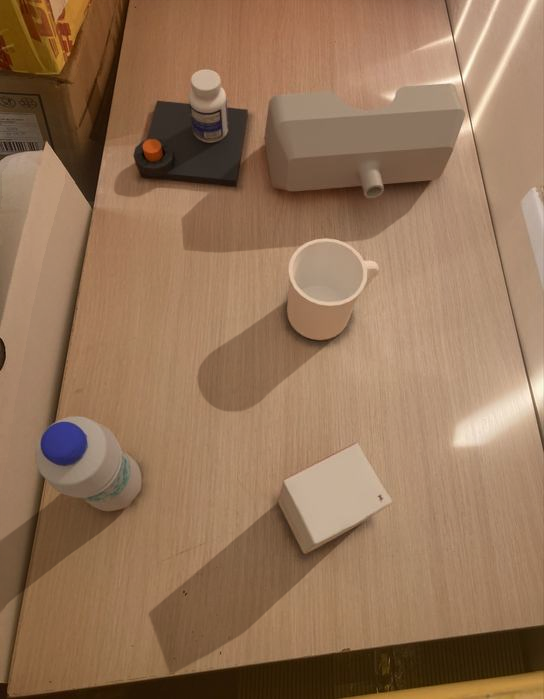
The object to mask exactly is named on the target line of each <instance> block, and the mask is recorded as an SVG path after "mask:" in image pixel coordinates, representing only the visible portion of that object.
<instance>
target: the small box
mask: <svg viewBox="0 0 544 699" xmlns="http://www.w3.org/2000/svg"><path fill="white" fill-rule="evenodd" d="M277 503H278V505H279V507H280V509H281V511H282V513H283V516H284V518H285V519H286V521H287V523H288V525H289V527H290V529H291V532H292V533H293V536H294V537H295V540H296V541H297V543H298V546H299V548H300V549H301V552H302V553H303V554H304V555H306V554H308V553H310V552H313V551H314V550H316V549H318V548H320V547H321V546H323V545H325V544H326V543H327V544H328V542H331V541H332V540H334V539H336V538H337V537H340V536H341V535H344V534H345V533H347V532H348V531H350V530H352V529H354V528H355V527H357V526H359V525H360V524H363V523H364V522H365V521H367V520H368V519H370V518H371V517H372V516H374V515H376V514H377V513H379V512H380V511H382V510H383V509H385V508H388V506H390V505H392V504H393V500H392V498H391V496H390V495H389V494H388V492H387V490H386V488H385V487H384V485H383V483H382V482H381V480H380V479H379V477H378V476H377V474H376V472H375V470H374V468H373V467H372V465H371V464H370V462H369V460H368V458H367V456H366V454H365V453H364V451H363V450H362V448H361V445H360V444H359V443H358V442H354V443H352V444H350V445H348V446H346V447H344V448H343V449H340V450H338V451H336V452H334V453H332V454H331V455H328V456H327V457H324V458H323V459H321V460H319V461H316V462H315V463H313V464H311V465H309V466H307V467H305V468H303V469H302V470H299V471H298V472H296V473H293V474H292V475H290V476H287V477H286V478H284V479H283V481H282V484H281V488H280V492H279V497H278V501H277Z"/></svg>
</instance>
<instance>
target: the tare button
mask: <svg viewBox="0 0 544 699" xmlns="http://www.w3.org/2000/svg"><path fill="white" fill-rule="evenodd" d="M146 140H147V139H146ZM144 141H145V140H144ZM142 147H143V151H144V155H145V158H146V159H147V160H148V161H150V162H157V161H159V160H161V159H162V157H163V151H162V146H161V143H160V142H159V141H158V140H156V139H149V140H147V141H145V142H144V143H143V146H142Z"/></svg>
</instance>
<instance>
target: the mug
mask: <svg viewBox="0 0 544 699" xmlns="http://www.w3.org/2000/svg"><path fill="white" fill-rule="evenodd" d="M379 271H380V266H379V264H378V263H377V262H376V261H375V260H364V259H363V257H362V255H361V254H360V253H359V251H358V250H356V249H355V248H354V247H353V246H352V245H349V244H348V243H347V242H344V241H341V240H338V239H335V238H328V237H327V238H326V237H325V238H315V239H313V240H309V241H307V242H305V243H303V244H302V245H301V246H299V247H298V248H297V249H296V250H295V251H294V253H293V254H292V256H291V258H290V260H289V263H288V293H287V294H288V296H287V307H286V315H287V321H288V323H289V325H290V326H291V328H292V329H293V331H294V332H296V333H297V335H299V336H301V337H302V338H305V339H307V340H309V341H316V342H325V341H329V340H332V339H335V338H336V337H338V336H339V335H340V334H342V332H343V331H344V330H345V329H346V328H347V325H348V323H349V320H350V318H351V315H352V313H353V311H354V308H355V306H356V303H357V301H358V299H359V298H360V296H361V294H362V292H363V291H364V290H365V289H366V288H367V287H368V286H369V284H370V283H371V282H372V281H373V280H374V278H376V276H377V275H378V274H379Z"/></svg>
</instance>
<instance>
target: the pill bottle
mask: <svg viewBox="0 0 544 699" xmlns="http://www.w3.org/2000/svg"><path fill="white" fill-rule="evenodd" d="M190 85H191V86H190V88H191V89H190V91H189V93H188V104H189V106H190V113H191V120H192V127H193V132H194V135H195V136H196V137H197V138H198V139H199V140H201V141H203V142H207V143H213V142H217V141H220V140H221V139H223V138H224V137H225V136H226V134H227V132H228V116H227V108H228V101H227V93H226V90H225V89H224V88H223V87H222V81H221V77H220V75H219V73H217V72H216V71H215V70H211V69H200V70H197V71H196V72H194V73H193V74H192V75H191V77H190Z"/></svg>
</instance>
